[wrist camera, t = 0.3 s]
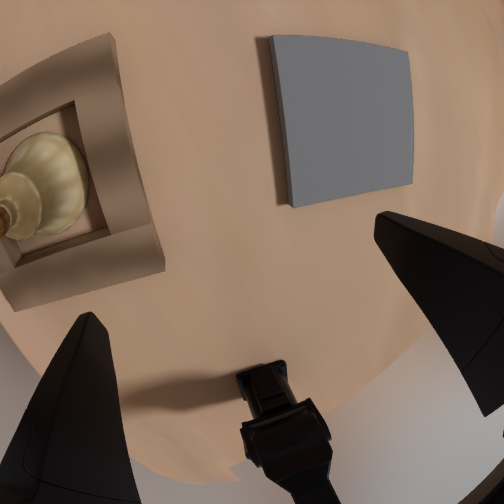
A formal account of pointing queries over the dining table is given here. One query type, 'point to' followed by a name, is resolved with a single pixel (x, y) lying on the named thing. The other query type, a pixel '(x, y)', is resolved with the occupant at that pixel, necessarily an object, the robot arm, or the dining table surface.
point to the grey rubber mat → (342, 116)
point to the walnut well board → (103, 173)
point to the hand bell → (42, 187)
